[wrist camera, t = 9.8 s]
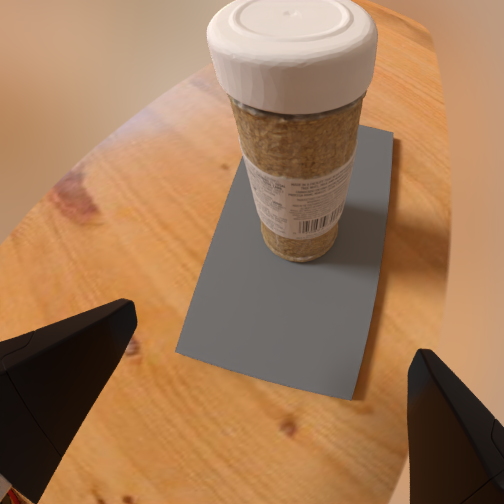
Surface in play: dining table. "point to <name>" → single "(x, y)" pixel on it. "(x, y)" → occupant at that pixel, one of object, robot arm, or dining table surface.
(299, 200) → the spice jar
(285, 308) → the charcoal mat
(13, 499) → the canned food
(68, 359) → the robot arm
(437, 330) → the dining table surface
